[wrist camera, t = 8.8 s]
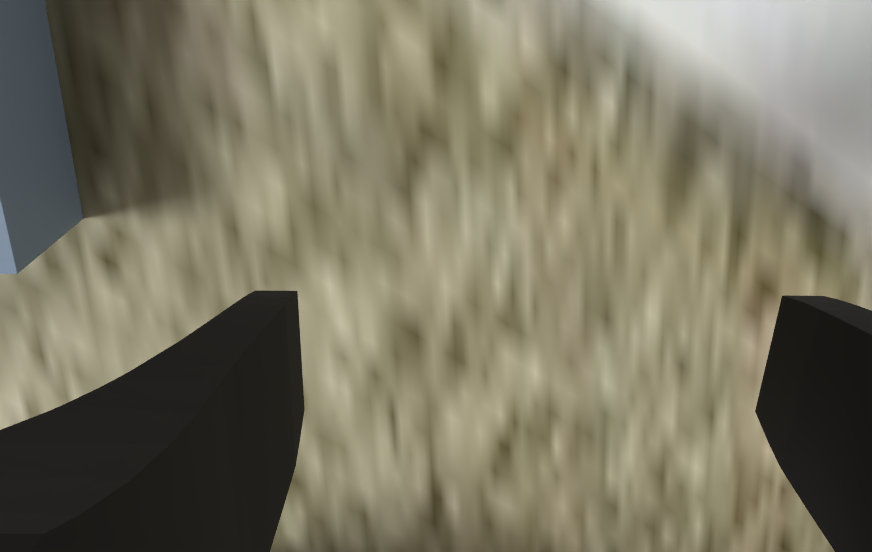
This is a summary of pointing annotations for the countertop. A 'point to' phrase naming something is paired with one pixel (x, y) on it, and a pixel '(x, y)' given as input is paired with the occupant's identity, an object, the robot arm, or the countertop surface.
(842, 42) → the countertop surface
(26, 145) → the blue-grey rectangular block
